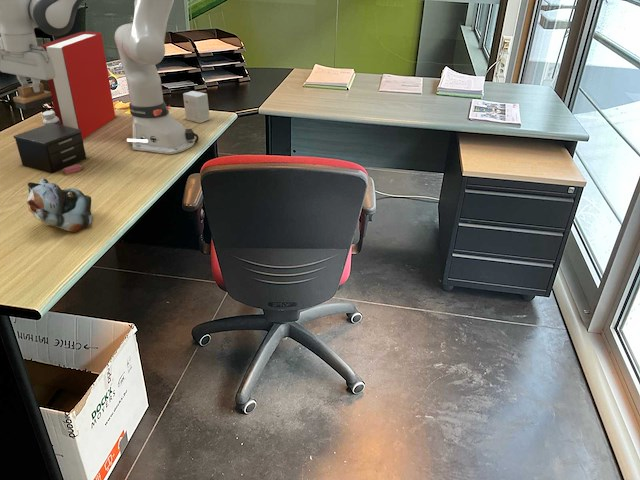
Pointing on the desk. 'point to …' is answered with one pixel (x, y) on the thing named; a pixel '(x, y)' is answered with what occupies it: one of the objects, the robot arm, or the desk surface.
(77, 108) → the book
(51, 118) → the pill bottle
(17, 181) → the desk surface
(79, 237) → the desk surface
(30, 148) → the cabinet
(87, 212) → the lucky cat figurine
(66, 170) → the eraser
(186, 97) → the small box
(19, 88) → the brush
